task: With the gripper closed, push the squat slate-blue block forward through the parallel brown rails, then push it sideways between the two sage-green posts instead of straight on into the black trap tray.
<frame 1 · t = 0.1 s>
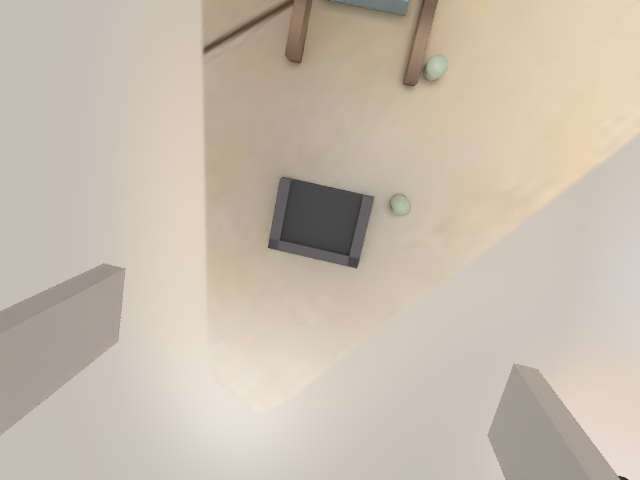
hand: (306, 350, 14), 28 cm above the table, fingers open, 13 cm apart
goal posts: (415, 139, 39), on the table
trap tray: (320, 221, 41), on the table
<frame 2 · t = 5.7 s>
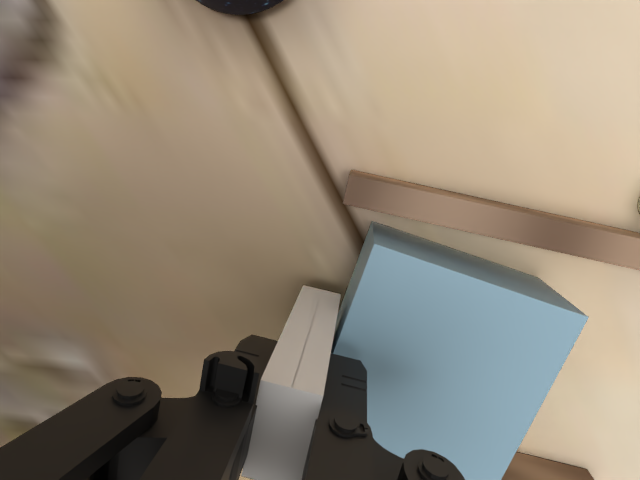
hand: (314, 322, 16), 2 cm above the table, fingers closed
block: (421, 323, 18), on the table, touching gripper
parallel brown rails: (472, 338, 17), on the table
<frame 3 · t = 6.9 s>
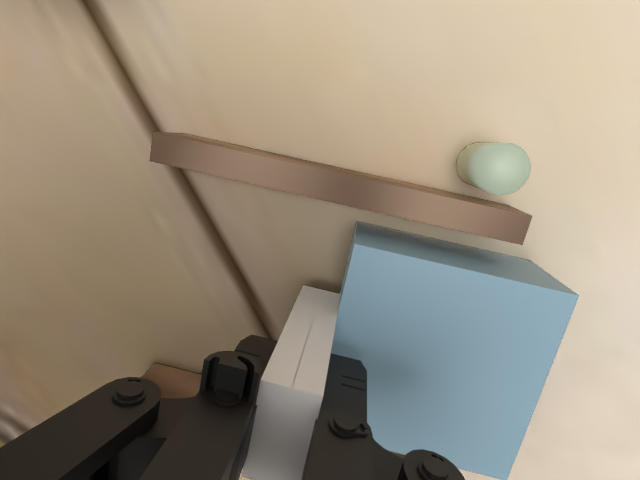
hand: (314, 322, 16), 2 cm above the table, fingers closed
goal posts: (638, 198, 16), on the table
block: (419, 318, 18), on the table, touching gripper
parallel brown rails: (312, 301, 18), on the table
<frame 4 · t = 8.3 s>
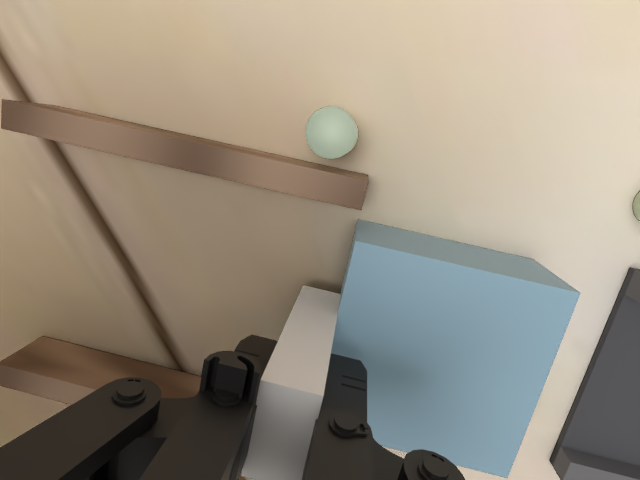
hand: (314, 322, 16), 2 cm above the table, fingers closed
goal posts: (493, 168, 16), on the table
block: (420, 316, 18), on the table
parallel brown rails: (188, 273, 18), on the table
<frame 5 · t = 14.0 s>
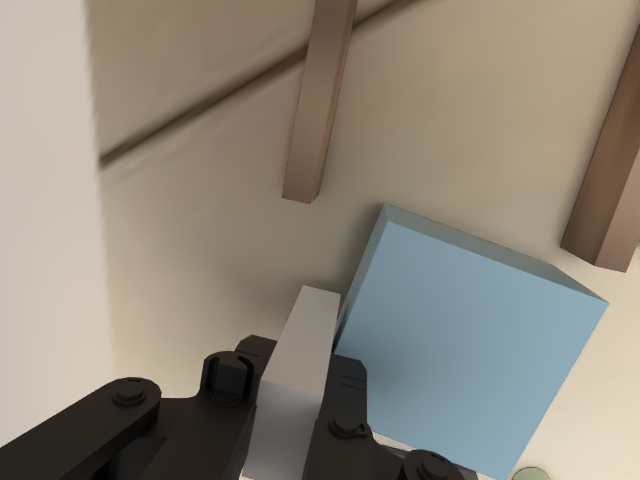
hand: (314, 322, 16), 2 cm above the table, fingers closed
goal posts: (578, 363, 17), on the table
block: (431, 310, 17), on the table, touching gripper
parallel brown rails: (486, 42, 15), on the table
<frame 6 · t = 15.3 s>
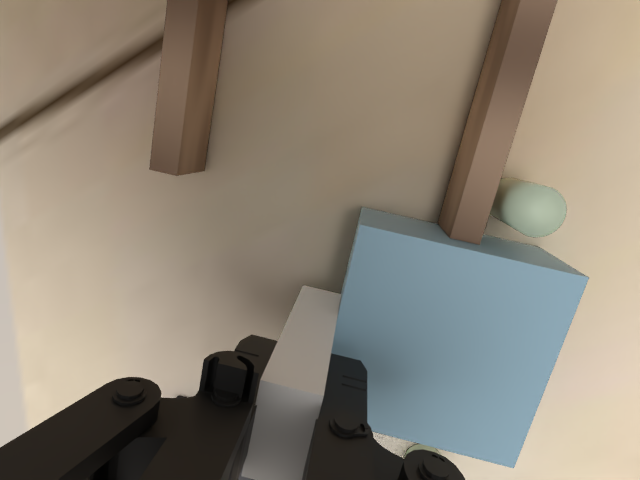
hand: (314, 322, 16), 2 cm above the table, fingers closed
goal posts: (461, 340, 17), on the table
block: (424, 305, 17), on the table
parallel brown rails: (356, 20, 15), on the table
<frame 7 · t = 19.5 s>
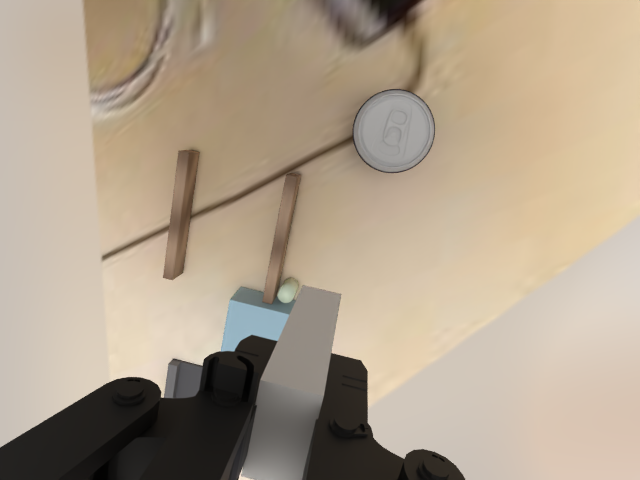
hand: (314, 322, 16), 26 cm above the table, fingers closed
beverage can: (386, 134, 40), on the table
goal posts: (280, 336, 46), on the table
trap tray: (206, 394, 48), on the table
block: (267, 323, 46), on the table
parallel brown rails: (234, 224, 43), on the table
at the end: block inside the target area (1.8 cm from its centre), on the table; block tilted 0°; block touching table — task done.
